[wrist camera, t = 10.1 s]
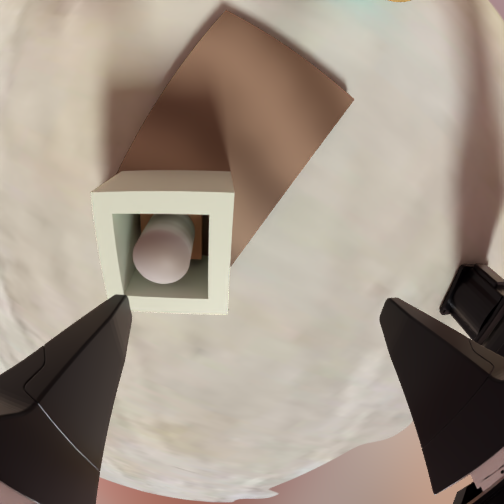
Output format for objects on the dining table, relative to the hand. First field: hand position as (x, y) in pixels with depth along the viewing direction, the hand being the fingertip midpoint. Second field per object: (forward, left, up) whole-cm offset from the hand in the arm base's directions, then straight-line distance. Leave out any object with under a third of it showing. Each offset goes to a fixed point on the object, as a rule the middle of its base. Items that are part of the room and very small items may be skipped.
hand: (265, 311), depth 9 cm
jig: (+4, +2, -12) cm, 12 cm away
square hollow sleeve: (-1, +4, -10) cm, 11 cm away
